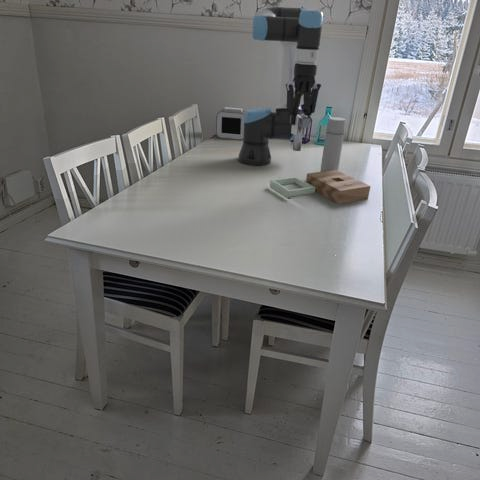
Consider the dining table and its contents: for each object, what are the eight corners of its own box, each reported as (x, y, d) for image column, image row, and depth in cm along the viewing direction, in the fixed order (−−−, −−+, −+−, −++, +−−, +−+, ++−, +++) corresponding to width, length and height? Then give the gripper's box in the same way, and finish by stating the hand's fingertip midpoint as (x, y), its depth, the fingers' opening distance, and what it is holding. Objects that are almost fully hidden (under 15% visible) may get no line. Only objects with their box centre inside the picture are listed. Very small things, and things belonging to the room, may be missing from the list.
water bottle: (337, 183, 171) (347, 121, 160) (318, 181, 173) (326, 119, 161) (337, 176, 179) (346, 117, 168) (318, 174, 181) (327, 115, 169)
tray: (269, 187, 163) (270, 179, 162) (295, 184, 168) (296, 176, 167) (288, 199, 153) (288, 191, 152) (314, 195, 158) (315, 187, 157)
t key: (299, 153, 150) (303, 118, 144) (287, 147, 156) (290, 114, 150) (306, 152, 151) (310, 118, 145) (293, 146, 157) (297, 114, 152)
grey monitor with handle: (215, 137, 230) (216, 108, 223) (220, 133, 240) (220, 105, 233) (245, 140, 228) (246, 111, 221) (248, 135, 238) (249, 107, 231)
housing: (305, 188, 165) (307, 173, 162) (333, 184, 171) (335, 169, 168) (337, 206, 149) (340, 190, 146) (367, 201, 155) (370, 185, 152)
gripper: (292, 64, 134) (285, 137, 144) (332, 64, 140) (322, 134, 151) (279, 61, 139) (273, 132, 150) (318, 62, 146) (310, 130, 157)
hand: (298, 133), depth 151 cm, fingers closed on t key, 3 cm apart
